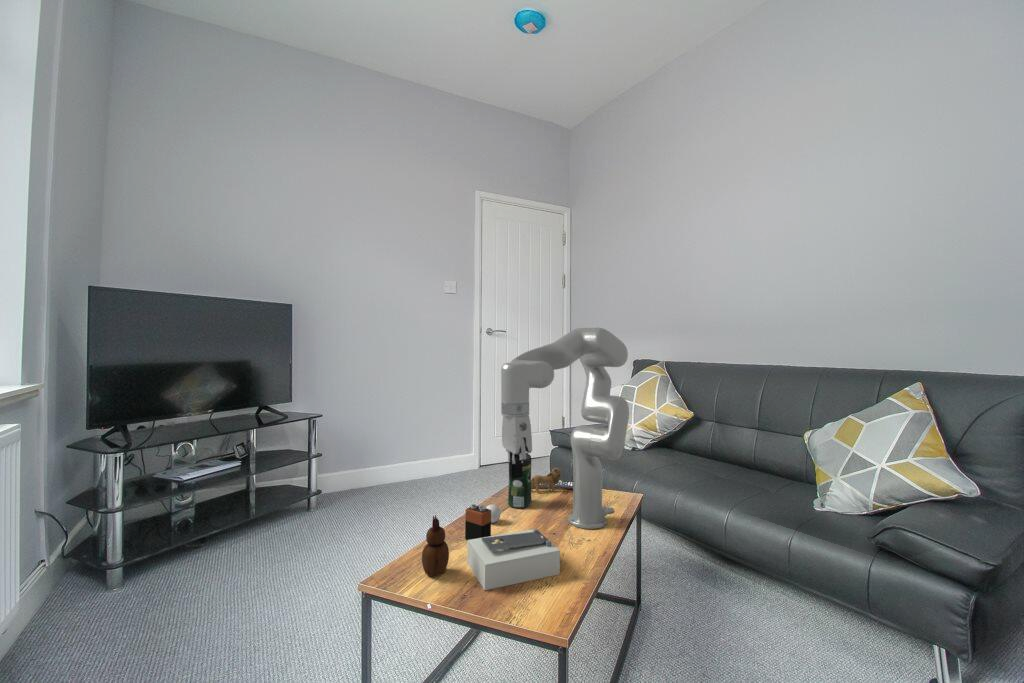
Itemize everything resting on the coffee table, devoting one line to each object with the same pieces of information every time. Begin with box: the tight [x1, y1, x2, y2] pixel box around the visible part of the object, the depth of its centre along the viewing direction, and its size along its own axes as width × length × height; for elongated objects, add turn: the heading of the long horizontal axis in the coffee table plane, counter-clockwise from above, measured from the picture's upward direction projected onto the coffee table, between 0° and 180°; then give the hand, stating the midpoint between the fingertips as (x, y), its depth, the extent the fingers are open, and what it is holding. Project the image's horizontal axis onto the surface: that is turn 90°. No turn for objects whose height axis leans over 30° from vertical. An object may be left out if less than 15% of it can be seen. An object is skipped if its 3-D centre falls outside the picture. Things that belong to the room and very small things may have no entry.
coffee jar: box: [507, 452, 532, 509], centre depth 158 cm, size 10×8×19 cm
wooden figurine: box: [421, 515, 450, 578], centre depth 109 cm, size 7×6×15 cm
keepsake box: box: [466, 528, 561, 591], centre depth 112 cm, size 20×14×8 cm
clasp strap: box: [482, 531, 549, 551], centre depth 112 cm, size 17×6×1 cm, turn 113°
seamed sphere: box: [485, 503, 501, 524], centre depth 141 cm, size 8×6×6 cm
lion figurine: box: [531, 467, 562, 495], centre depth 173 cm, size 15×5×9 cm, turn 111°
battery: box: [464, 504, 492, 541], centre depth 128 cm, size 4×7×10 cm, turn 55°
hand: (515, 477), depth 116 cm, fingers closed
